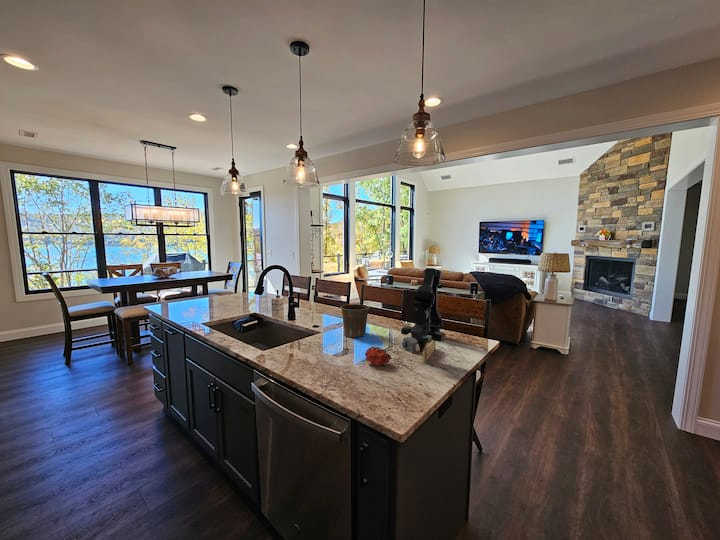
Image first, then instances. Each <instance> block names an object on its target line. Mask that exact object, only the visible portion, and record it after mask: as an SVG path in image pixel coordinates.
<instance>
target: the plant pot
mask: <svg viewBox="0 0 720 540" xmlns="http://www.w3.org/2000/svg"><path fill="white" fill-rule="evenodd" d="M340 309H341V315H342V325H343V335H344V336H346V337H349V338H359V337H360V338H362V337H364V336H366V334H367V333H366V331H367V321H368V314H369V309H370V305H366V304H362V303H361V304H360V303H359V304H358V303H351V304H343V305H341V306H340Z"/></svg>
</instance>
